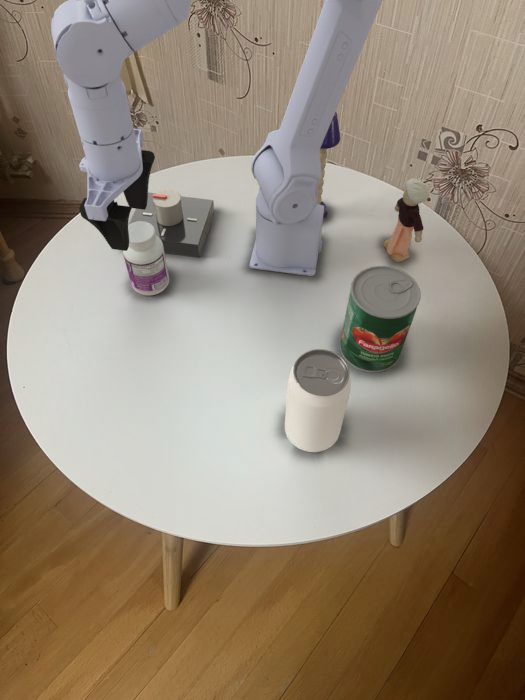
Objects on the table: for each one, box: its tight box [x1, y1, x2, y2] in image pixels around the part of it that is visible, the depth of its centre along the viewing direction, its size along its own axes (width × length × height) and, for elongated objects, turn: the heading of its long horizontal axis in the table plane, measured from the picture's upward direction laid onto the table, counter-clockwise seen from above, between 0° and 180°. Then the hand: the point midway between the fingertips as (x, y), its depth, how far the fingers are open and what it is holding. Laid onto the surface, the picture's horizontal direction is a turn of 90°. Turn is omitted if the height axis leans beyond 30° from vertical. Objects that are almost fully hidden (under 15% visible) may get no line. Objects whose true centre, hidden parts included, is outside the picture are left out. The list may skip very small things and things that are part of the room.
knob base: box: [128, 191, 215, 258], centre depth 85 cm, size 11×10×3 cm
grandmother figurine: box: [383, 178, 430, 263], centre depth 78 cm, size 8×4×13 cm, turn 27°
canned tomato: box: [339, 265, 422, 374], centre depth 69 cm, size 8×8×11 cm
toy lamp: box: [317, 111, 341, 220], centre depth 82 cm, size 5×5×17 cm
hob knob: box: [153, 188, 183, 226], centre depth 82 cm, size 4×4×4 cm
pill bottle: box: [121, 221, 170, 296], centre depth 76 cm, size 5×5×10 cm
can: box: [284, 348, 352, 453], centre depth 61 cm, size 6×6×12 cm
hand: (129, 227), depth 71 cm, fingers open, 7 cm apart
